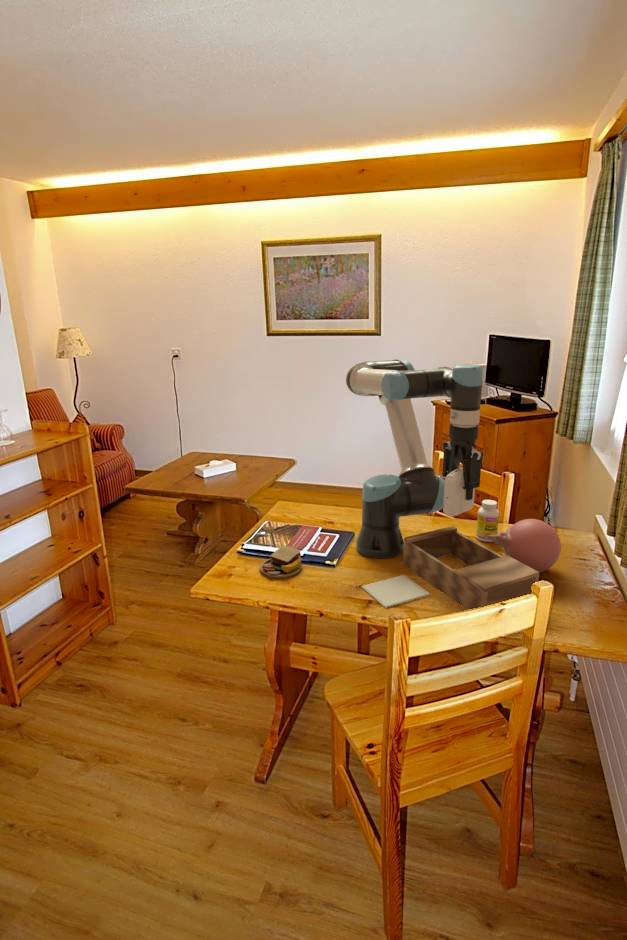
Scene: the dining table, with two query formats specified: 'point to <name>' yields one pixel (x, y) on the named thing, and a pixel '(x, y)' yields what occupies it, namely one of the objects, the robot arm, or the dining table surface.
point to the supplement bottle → (487, 520)
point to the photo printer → (454, 493)
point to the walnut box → (467, 568)
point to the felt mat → (395, 591)
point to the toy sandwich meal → (282, 563)
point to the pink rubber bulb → (530, 543)
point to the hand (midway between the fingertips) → (458, 506)
